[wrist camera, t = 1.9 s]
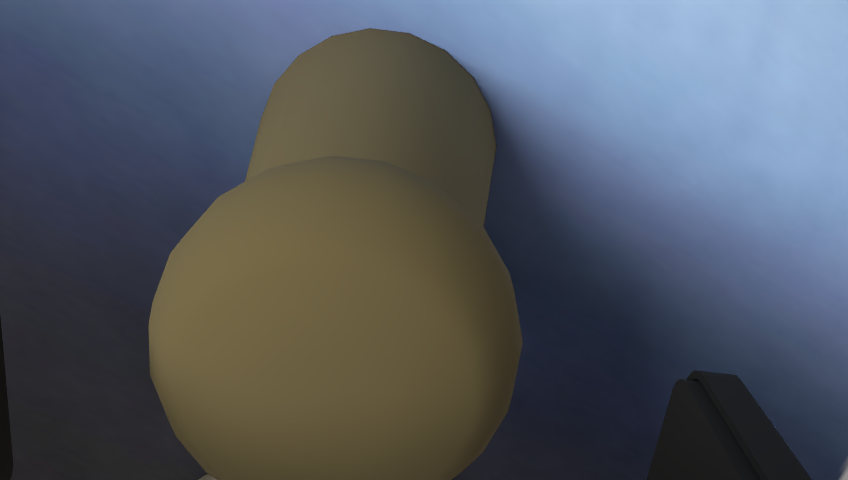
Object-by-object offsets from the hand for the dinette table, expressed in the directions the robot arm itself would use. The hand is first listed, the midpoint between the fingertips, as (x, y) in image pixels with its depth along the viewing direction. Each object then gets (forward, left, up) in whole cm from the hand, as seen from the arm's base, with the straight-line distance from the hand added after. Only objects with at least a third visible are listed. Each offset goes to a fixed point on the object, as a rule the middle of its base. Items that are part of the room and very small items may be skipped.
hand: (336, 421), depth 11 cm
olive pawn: (-1, 0, -10) cm, 10 cm away
